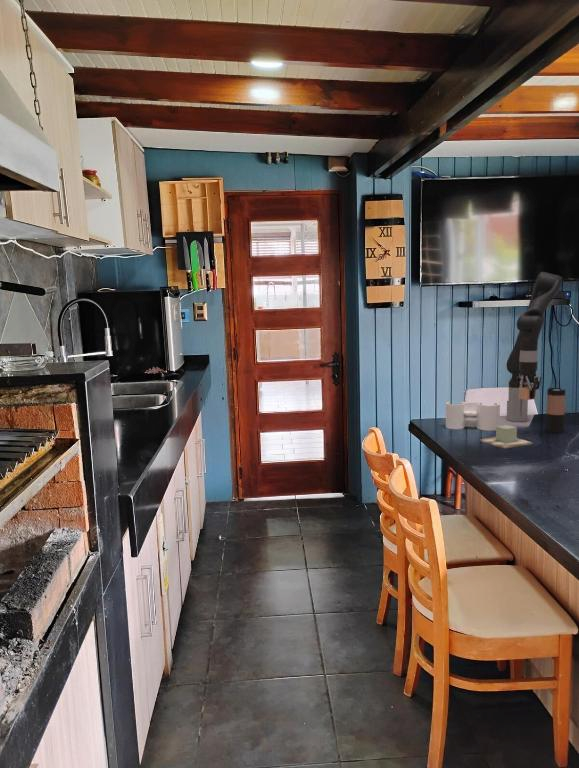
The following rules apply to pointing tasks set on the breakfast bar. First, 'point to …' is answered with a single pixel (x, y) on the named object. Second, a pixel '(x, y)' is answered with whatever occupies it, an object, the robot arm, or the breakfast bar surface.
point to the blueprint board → (506, 445)
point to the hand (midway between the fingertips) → (527, 397)
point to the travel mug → (555, 410)
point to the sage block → (506, 433)
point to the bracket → (472, 416)
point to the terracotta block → (525, 393)
